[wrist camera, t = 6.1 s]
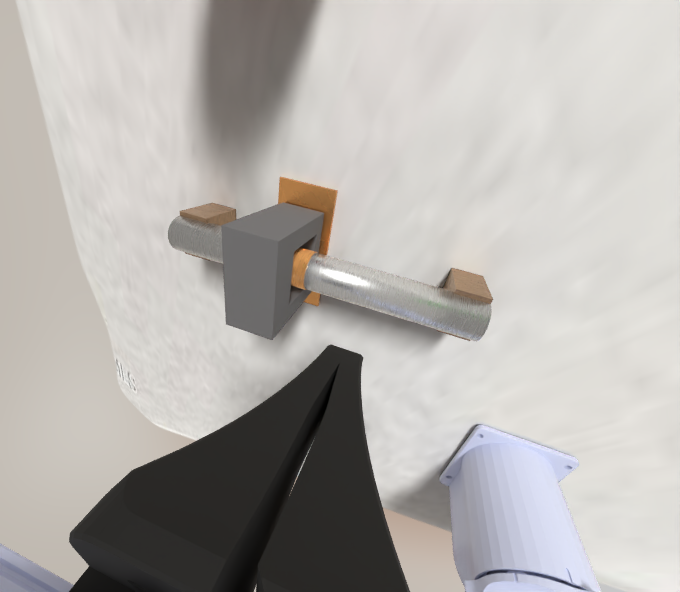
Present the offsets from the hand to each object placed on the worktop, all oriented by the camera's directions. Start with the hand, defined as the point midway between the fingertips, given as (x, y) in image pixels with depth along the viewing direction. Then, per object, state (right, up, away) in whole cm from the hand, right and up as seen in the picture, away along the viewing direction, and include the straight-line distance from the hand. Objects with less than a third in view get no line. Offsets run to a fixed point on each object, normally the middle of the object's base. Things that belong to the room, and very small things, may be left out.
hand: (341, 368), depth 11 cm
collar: (-3, +6, +10) cm, 12 cm away
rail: (-1, +6, +9) cm, 11 cm away
